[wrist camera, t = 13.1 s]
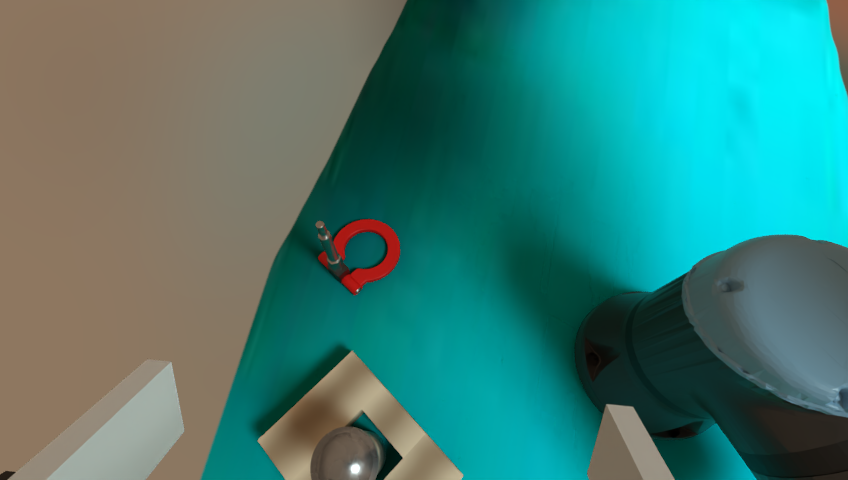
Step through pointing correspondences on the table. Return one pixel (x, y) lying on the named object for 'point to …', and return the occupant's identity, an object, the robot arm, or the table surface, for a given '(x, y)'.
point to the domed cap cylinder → (348, 455)
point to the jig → (340, 407)
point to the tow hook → (336, 253)
